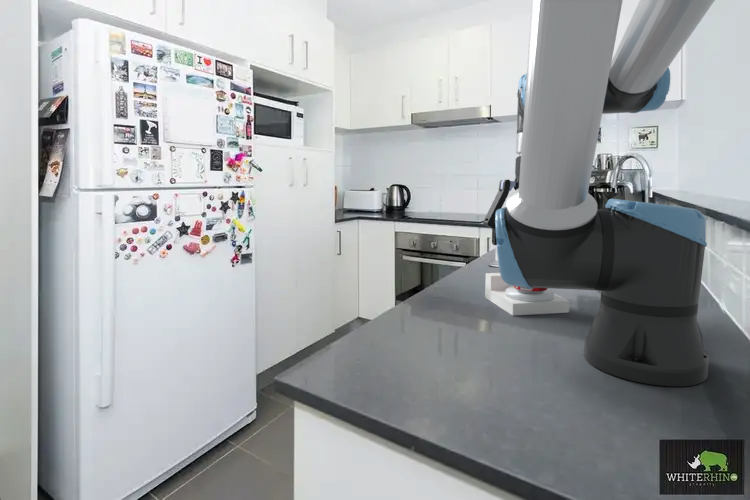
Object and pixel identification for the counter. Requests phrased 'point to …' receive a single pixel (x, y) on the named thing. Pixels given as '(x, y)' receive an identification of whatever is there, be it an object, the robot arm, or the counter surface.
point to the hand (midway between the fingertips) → (531, 260)
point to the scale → (522, 298)
